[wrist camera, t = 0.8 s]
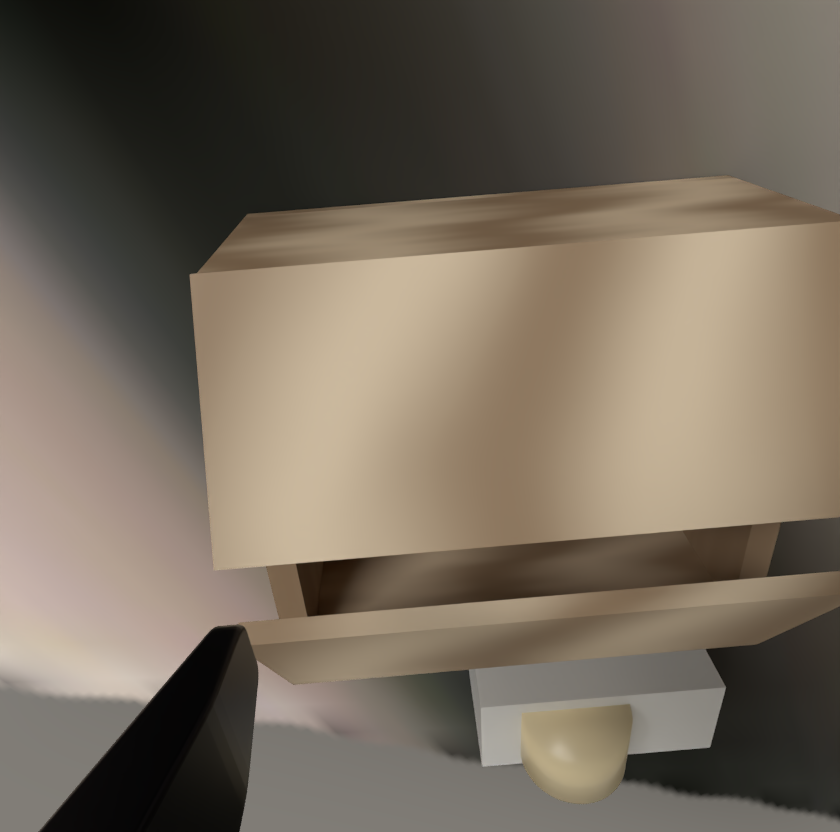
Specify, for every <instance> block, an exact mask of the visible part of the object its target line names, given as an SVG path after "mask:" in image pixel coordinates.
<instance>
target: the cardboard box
mask: <svg viewBox="0 0 840 832" xmlns="http://www.w3.org/2000/svg"><path fill="white" fill-rule="evenodd" d="M839 221H840V214H837V213H834V212H831V211H828V210H825V209H822V208H820V207H817V206H814V205H811V204H808V203H805V202H803V201H800V200H797V199H794V198H791V197H788V196H785V195H783V194H780V193H777V192H774V191H771V190H768V189H766V188H763V187H760V186H757V185H754V184H751V183H748V182H746V181H743V180H740V179H737V178H734V177H731V176H729V175H727V176H714V177H702V178H689V179H677V180H664V181H652V182H640V183H627V184H615V185H602V186H590V187H577V188H565V189H552V190H540V191H528V192H515V193H503V194H490V195H478V196H465V197H453V198H440V199H428V200H416V201H403V202H391V203H378V204H366V205H353V206H341V207H328V208H316V209H303V210H291V211H279V212H266V213H254V214H247V215H246V216H245V218H244V219H243V220H242V221H241V222H240V224H239V225H238V226H237V227H236V228H235V229H234V231H233V232H232V233H231V234H230V235H229V236H228V238H227V239H226V240H225V241H224V242H223V243H222V245H221V246H220V247H219V248H218V249H217V250H216V252H215V253H214V254H213V255H212V256H211V257H210V259H209V260H208V261H207V262H206V263H205V264H204V266H203V267H202V268H201V269H200V270H199V271H198V273H211V272H223V271H235V270H248V269H260V268H272V267H285V266H297V265H309V264H322V263H334V262H346V261H359V260H371V259H383V258H395V257H408V256H420V255H432V254H445V253H457V252H469V251H482V250H494V249H506V248H519V247H531V246H543V245H556V244H568V243H580V242H593V241H605V240H617V239H630V238H642V237H654V236H667V235H679V234H691V233H704V232H716V231H728V230H741V229H753V228H765V227H778V226H790V225H802V224H815V223H827V222H839ZM198 273H197V274H198ZM780 525H781V522H776V523H764V524H752V525H741V526H729V527H717V528H705V529H694V530H682V531H670V532H659V533H647V534H635V535H623V536H612V537H600V538H588V539H577V540H565V541H553V542H542V543H530V544H518V545H506V546H495V547H483V548H471V549H460V550H448V551H436V552H424V553H413V554H401V555H389V556H378V557H366V558H354V559H343V560H331V561H319V562H307V563H296V564H284V565H272V566H266V568H267V572H268V576H269V580H270V584H271V588H272V592H273V596H274V600H275V604H276V608H277V612H278V616H279V619H288V618H300V617H311V616H323V615H335V614H346V613H358V612H369V611H381V610H393V609H404V608H416V607H427V606H439V605H451V604H462V603H474V602H485V601H497V600H509V599H520V598H532V597H543V596H555V595H567V594H578V593H590V592H601V591H613V590H625V589H636V588H648V587H659V586H671V585H683V584H694V583H706V582H717V581H729V580H741V579H752V578H764V577H767V573H768V569H769V566H770V562H771V558H772V555H773V551H774V547H775V544H776V540H777V536H778V533H779V529H780Z"/></svg>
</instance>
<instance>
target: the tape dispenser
mask: <svg viewBox="0 0 840 832" xmlns="http://www.w3.org/2000/svg"><path fill="white" fill-rule="evenodd" d="M469 674H470V682H471V689H472V696H473V704H474V711H475V718H476V725H477V733H478V740H479V747H480V754H481V762H482V766H495V765H507V764H519V763H523V765H524V768H525V770H526V772H527V773H528V775H529V776H530V778H531V779H532V780H533V782H535V784H536V785H537V786H538V787H539V788H540V789H542V790H543V791H544V792H546V793H547V794H549V795H551V796H552V797H554V798H556V799H559V800H561V801H564V802H568V803H574V804H589V803H594V802H597V801H600V800H602V799H604V798H606V797H608V796H609V795H610V794H612V793H613V792H614V791H615V790H616V789H617V787H618V786H619V785H620V783H621V781H622V779H623V776H624V772H625V766H626V760H627V754H638V753H650V752H662V751H674V750H686V749H698V748H710V745H711V742H712V738H713V734H714V730H715V727H716V723H717V719H718V715H719V712H720V708H721V704H722V701H723V697H724V693H725V689H726V686H725V685H724V683H723V681H722V679H721V677H720V675H719V673H718V672H717V670H716V668H715V666H714V664H713V662H712V661H711V659H710V657H709V655H708V653H707V651H706V649H698V650H687V651H675V652H664V653H652V654H641V655H629V656H618V657H607V658H595V659H584V660H572V661H561V662H549V663H538V664H526V665H515V666H503V667H492V668H480V669H469Z"/></svg>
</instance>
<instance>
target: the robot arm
mask: <svg viewBox="0 0 840 832" xmlns="http://www.w3.org/2000/svg"><path fill="white" fill-rule="evenodd" d="M257 688H258V665H257V661H256V658H255V655H254V652H253V649H252V645H251V642H250V639H249V636H248V633H247V630H246V629H245V627H244V626H243V625H239V624H237V625H227V626H217V627H215V628H213V629H212V630H211V631H210V632H209V633H208V634H207V635H206V636H205V637H204V638H203V640H202V641H201V642H200V643H199V644H198V645H197V647H196V648H195V649H194V650H193V651H192V653H191V654H190V655H189V656H188V657H187V658H186V660H185V661H184V662H183V663H182V664H181V665H180V667H179V668H178V669H177V670H176V671H175V672H174V674H173V675H172V676H171V677H170V678H169V679H168V681H167V682H166V683H165V684H164V685H163V686H162V688H161V689H160V690H159V691H158V692H157V694H156V695H155V696H154V697H153V698H152V699H151V701H150V702H149V703H148V704H147V705H146V706H145V708H144V709H143V710H142V711H141V712H140V713H139V715H138V716H137V717H136V718H135V720H134V721H133V722H132V723H131V724H130V725H129V726H128V727H127V729H126V730H125V731H124V732H123V733H122V735H121V736H120V737H119V738H118V739H117V740H116V742H115V743H114V744H113V745H112V746H111V748H110V749H109V750H108V751H107V752H106V753H105V754H104V756H103V757H102V758H101V759H100V760H99V761H98V763H97V764H96V765H95V766H94V767H93V768H92V770H91V771H90V772H89V773H88V774H87V776H86V777H85V778H84V779H83V780H82V781H81V783H80V784H79V785H78V786H77V787H76V788H75V790H74V791H73V792H72V793H71V794H70V795H69V797H68V798H67V799H66V800H65V801H64V802H63V804H62V805H61V806H60V807H59V808H58V809H57V811H56V812H55V813H54V814H53V815H52V817H51V818H50V819H49V820H48V821H47V822H46V824H45V825H44V826H43V827H42V828H41V829H40V831H39V832H239V831H240V826H241V821H242V816H243V811H244V806H245V800H246V794H247V787H248V778H249V769H250V759H251V749H252V739H253V729H254V718H255V708H256V698H257Z"/></svg>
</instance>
